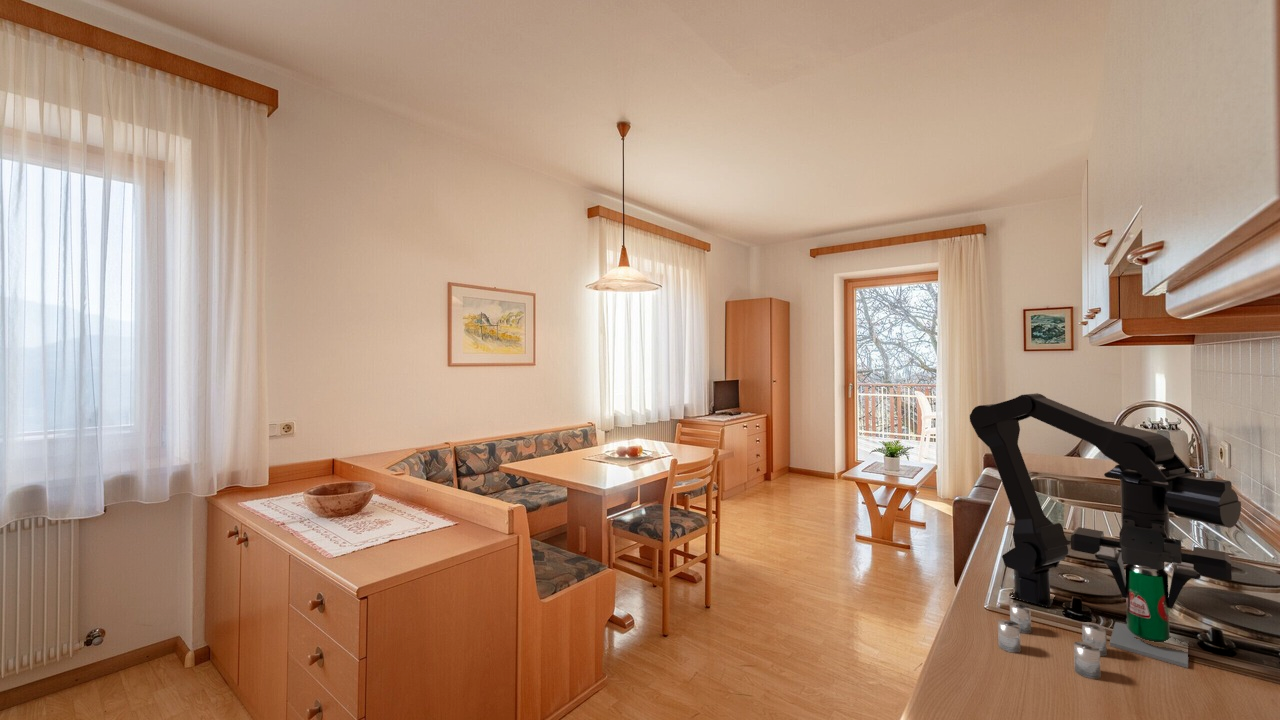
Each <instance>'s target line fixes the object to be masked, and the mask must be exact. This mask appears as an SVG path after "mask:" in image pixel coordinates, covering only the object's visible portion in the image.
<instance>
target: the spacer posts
mask: <svg viewBox="0 0 1280 720" xmlns="http://www.w3.org/2000/svg"><path fill="white" fill-rule="evenodd" d="M1031 616H1032V615H1031V607H1030V606H1028V605H1026V604H1024V603H1020V602H1019V603H1018V602H1011V603H1009V619H999V620H997V635H998V639H997V640H998V647H999V649H1001V650H1003V651H1005V652H1009V653H1012V654H1014V653H1015V654H1017V653H1021V634H1030V633H1032V619H1031V618H1032V617H1031ZM1081 633H1082V634H1081V635H1082V639H1081V640H1082V641H1075V642H1073V652H1074V654H1073V655H1074V659H1073V660H1074V671H1075V672H1076V674H1078V675H1080V676H1082V677H1084V678H1088V679H1092V680H1098V679H1101V675H1102V674H1101V657H1106V656H1107V655H1108V646H1107V641H1108V640H1107V629H1106V627H1104V626H1103V625H1101V624H1098V623H1096V622H1095V623H1094V622H1092V621H1091V622H1089V621H1087V622H1082V623H1081Z"/></svg>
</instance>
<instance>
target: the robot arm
mask: <svg viewBox="0 0 1280 720" xmlns="http://www.w3.org/2000/svg"><path fill="white" fill-rule="evenodd" d="M1028 418H1034V419H1036V420H1038V421H1040V422H1042V423H1045V424H1047V425H1049V426H1051V427H1053V428H1056V429H1059V430H1060V431H1062V432H1065V433H1067V434H1069V435H1072V436H1073V437H1076V438H1078V439H1080V440H1083V441H1085V442H1087V443H1089V444H1091V445H1092V446H1094V447H1095V448H1097V449H1098V451H1100V453H1102V454H1103V456H1105V457H1106V458H1108V459H1109V460H1110V461H1113V462H1115V465H1114V467H1113V468H1112V469H1110V470H1109V471H1107V472H1105V473H1104V477H1105V478H1109V479H1114V480H1119V481H1120V482H1119V483H1120V484H1119V485H1120V514H1121V516H1120V517H1121V520H1120V521H1121V529H1120V530H1119V535H1118V536H1119V537H1118V538H1119V539H1113V538H1108V537H1105V533H1104V531H1103V530H1096V529H1091V528H1087V527H1086V528H1085V527H1080V526H1079V527H1077V528H1076V529H1074V530H1073V532H1072V534H1071V536H1070V542H1069V540H1068V539H1067V537H1066V535H1065V532H1064V528H1063V525H1062V524H1061V523H1060V522H1057V523H1053V522H1052V521H1051V520H1050V519H1049V518H1048V517H1047V516H1046V515H1045V513H1044V511H1043V508H1042V505H1041V503H1040V501H1039V498H1038V495H1037V492H1036V490H1035V487H1034V484H1033V482H1032V479H1031V477H1030V473H1029V471H1028V468H1027V466H1026V463H1025V461H1024V460H1025V459H1024V457H1023V455H1022V453H1021V449H1020V447H1019V444H1018V443H1019V437H1020V431H1021V427H1020V421H1023V420H1027V419H1028ZM969 422H970V424H971V426H972V428H973V430H974V432H975V434H976V436H977V437H978V438H979V440H981V441H982V442H983V444H984V445H986V446H987V447H988V449H990V452H991V455H992V458H993V461H994V464H995V466H996V469H997V472H998V475H999V477H1000V481H1001V483H1002V485H1003V489H1004V491H1005V494H1006V496H1007V500H1008V502H1009V503H1008V504H1009V505H1010V507H1011V511H1012V514H1013V516H1014V523H1013V529H1012V539H1013V543H1014V547H1013V548H1011V549H1010V550H1008V551H1007V552H1005V553H1004V554H1002V555H1001V558H1002V560H1003V564H1004V566H1005V568H1008V569H1011V570H1013V577H1014V578H1013V583H1014V584H1013V585H1014V587H1013V589H1014V588H1015V593H1013V592H1012V593H1011V592H1010V593H1009V594H1008V595H1009V596H1011V595H1013V596H1012V597H1015V598H1018V599H1021V600H1024V601H1028V602H1031V603H1030V604H1032V603H1035V604H1034V605H1036V604H1039V605H1043V606H1047V607H1050V608H1051V607H1052V604H1053V603H1054V601H1053V599H1050V593H1051V582H1050V581H1051V580H1050V579H1051V577H1050V575H1051V574H1050V569H1053V568H1058V567H1059V566H1060V565H1059V564H1060V562H1061V561H1063V560H1065V559H1066V558H1067V556H1068V554H1069V548H1068V546H1069V545H1070V549H1071V550H1073V551H1076V552H1080V553H1081V552H1082V553H1085V554H1092V555H1094V556H1095V559H1097V560H1100V561H1103V563H1105V564H1106V566H1107V567H1108V570H1110V572H1111V574H1112V575H1113V578H1114V580H1115V582H1116V585H1117V587H1118V590H1119V592H1120V594H1121V596H1122V598H1125V599H1126V571H1125V568H1124V567H1125V566H1124V563H1125V564H1126V565H1127V564H1130V565H1141V566H1146V567H1150V568H1151V569H1156V570H1161V569H1163V568H1165V563H1166V564H1167V563H1169V564H1172V565H1173V564H1174V565H1173V570H1172V575H1171V580H1170V588H1169V591H1168V597H1169V598H1168V606H1169V610H1172V609H1173V607H1174V606H1175V603H1176V601H1177V600H1178V597H1179V595H1180V593H1181V591H1182V589H1183V588H1184V587H1185V586H1186V584H1187V582H1189V581H1190V580H1191V579H1193V580H1201V577H1202V576H1203V577H1207V578H1212V579H1213V578H1214V579H1219V580H1221V581H1222V580H1223V581H1232V580H1233V579H1232V573H1233V571H1232V560H1231V556H1230V555H1229V554H1228V553H1227V552H1226V551H1220V550H1215V549H1209V548H1205V547H1197V546H1193V551H1192V552H1189V551H1183V549H1182V541H1181V540H1180V539H1175V538H1171V536H1170V533H1171V532H1170V513H1173V514H1174V515H1175V516H1176V517H1177V518H1182V519H1187V520H1192V521H1196V522H1200V523H1206V524H1209V525H1215V526H1220V527H1222V528H1230V529H1231V528H1233V527H1235V526H1236V525H1237V523H1239V520H1240V516H1241V512H1242V502H1241V501H1240V499H1239V496H1238V494H1237V492H1236V491H1235V490H1234V489H1232V487H1233V485H1232V484H1233V483H1232V481H1231V480H1226V479H1220V478H1217V479H1216V478H1205V477H1200V476H1195V473H1194V472H1193V471H1192V470H1191V469H1190V467H1189V466H1188V465H1187V464H1186V463H1185V462H1184V461H1183V460H1182V459H1181V458H1180V457H1179V455H1178V454H1177V453H1176V452H1175V449H1174V446H1173V445H1172V443H1171V442H1172V441H1171V440H1170V439H1169V438H1168V437H1166V436H1164V435H1162V434H1160V433H1157V432H1153V431H1150V430H1149V431H1148V430H1145V429H1141V428H1138V427H1132V426H1124V425H1118V424H1114V423H1110V422H1107V421H1105V420H1103V419H1100V418H1097V417H1096V416H1093V415H1089V414H1087V413H1085V412H1083V411H1080V410H1078V409H1076V408H1073V407H1071V406H1068V405H1066V404H1063V403H1060V402H1058V401H1055V400H1054V399H1050V398H1048V397H1047V396H1045V395H1044V394H1041V393H1038V392H1036V393H1029V394H1021V395H1018V396H1016V397H1014V398H1011V399H1009V400H1006V401H1001V402H999V403H998V402H997V403H992V404H991V403H990V404H980V405H977V406H975V407H974V408H972V411H971V413H970V414H969ZM1159 467H1163V469H1160V468H1159ZM1024 601H1023V602H1024ZM1028 602H1027V603H1028ZM1039 605H1038V606H1039ZM1043 606H1042V607H1043ZM1047 607H1046V608H1047Z"/></svg>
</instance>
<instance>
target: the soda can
mask: <svg viewBox="0 0 1280 720" xmlns="http://www.w3.org/2000/svg"><path fill="white" fill-rule="evenodd" d="M1124 567H1125V568H1124V572H1125V579H1126V598H1125V600H1126V601H1125V602H1126V625H1127V628H1128V629H1129V630H1130V631H1131V632H1132V633H1133V634H1134V635H1136V636H1138V637H1140V638H1142V639H1145V640H1149V641H1154V642H1164V641H1166V640H1168V639H1169V638H1170V636H1171V635H1170V608H1169V606H1168V598H1169V574H1168V572H1167V571H1166V569H1165V567H1164V568H1163V569H1161V570H1156V569H1151V568H1150V567H1146V566H1141V565H1130V564H1127V563H1126V565H1125V566H1124Z"/></svg>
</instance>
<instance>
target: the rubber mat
mask: <svg viewBox="0 0 1280 720" xmlns="http://www.w3.org/2000/svg"><path fill="white" fill-rule="evenodd" d="M1134 637H1138V636H1136V635H1134V634H1133V633H1132V632H1131V631H1130V630H1129V629H1128V628H1127V623H1123V622H1118V621H1115V622H1114V626H1113V628H1112V632H1111V636H1110V640H1109V642H1108V643H1109V647H1112V648H1116V649H1119V650H1123V651H1126V652H1131V653H1133V654H1137V655H1140V656H1143V657H1147V658H1151V659H1154V660H1158V661H1161V662H1165V663H1169V664H1172V665H1175V666H1179V667H1181V668H1182V667H1183V668H1186V669H1189V657H1188V652H1184V651H1182V650H1176V649H1172V648H1166V647H1158V646H1157V647H1156V646H1153V645H1151V644H1148V643H1145V642H1144V641H1142V640H1140V639H1136V638H1134ZM1171 637H1173V638H1174V639H1175V640H1176V639H1178V640H1179V641H1181V642H1184V641H1185V642H1186V643H1189V645H1188V646H1189V647H1190V641H1189V640H1188V639H1184V638H1179V637H1176V636H1172V635H1170V638H1171ZM1181 642H1180V643H1181Z"/></svg>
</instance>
